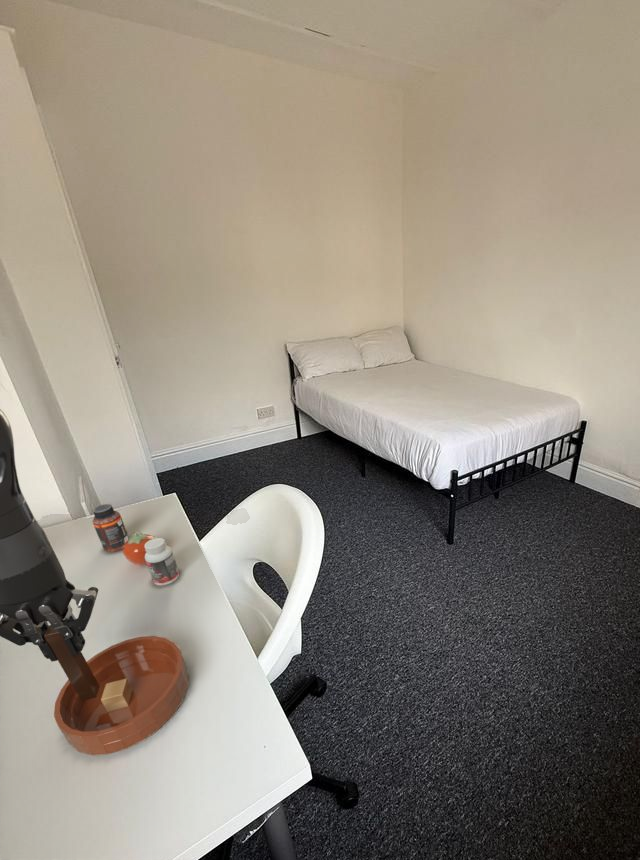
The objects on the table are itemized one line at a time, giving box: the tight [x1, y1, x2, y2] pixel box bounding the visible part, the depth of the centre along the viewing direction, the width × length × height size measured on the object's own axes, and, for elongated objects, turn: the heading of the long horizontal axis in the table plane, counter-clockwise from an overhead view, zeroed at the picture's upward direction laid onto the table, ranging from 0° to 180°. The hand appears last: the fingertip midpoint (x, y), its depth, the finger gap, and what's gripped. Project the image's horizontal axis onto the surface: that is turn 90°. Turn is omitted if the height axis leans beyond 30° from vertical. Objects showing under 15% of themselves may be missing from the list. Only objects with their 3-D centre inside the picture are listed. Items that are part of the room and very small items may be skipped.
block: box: [101, 678, 132, 712], centre depth 66 cm, size 3×3×3 cm
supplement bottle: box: [91, 503, 130, 553], centre depth 103 cm, size 6×6×11 cm
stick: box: [44, 624, 100, 701], centre depth 61 cm, size 2×2×14 cm
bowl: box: [53, 635, 190, 756], centre depth 66 cm, size 17×17×5 cm
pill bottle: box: [144, 537, 180, 586], centre depth 91 cm, size 5×5×10 cm
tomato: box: [121, 532, 156, 566], centre depth 98 cm, size 7×7×8 cm
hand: (67, 653), depth 60 cm, fingers closed on stick, 2 cm apart
